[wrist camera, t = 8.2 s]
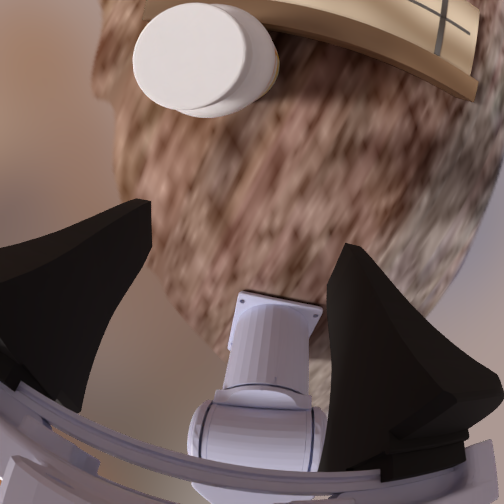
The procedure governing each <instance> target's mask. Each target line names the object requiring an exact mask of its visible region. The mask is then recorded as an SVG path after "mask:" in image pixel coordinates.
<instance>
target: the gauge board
mask: <svg viewBox="0 0 504 504" xmlns="http://www.w3.org/2000/svg"><path fill="white" fill-rule="evenodd" d="M186 3H206V4H224V5H230V6H234V7H237V8H240V9H242V10H244V11H246V12H248V13H249V14H251V15H252V16H254V17H255V18H256V19H257V20H258V21H259V22H260V23H261V24H262V25H263V26H264V27H265V29H266V30H269V31H275V32H281V33H286V34H291V35H296V36H301V37H305V38H309V39H314V40H317V41H321V42H325V43H329V44H332V45H336V46H339V47H342V48H346V49H349V50H352V51H355V52H358V53H361V54H364V55H366V56H369V57H372V58H375V59H377V60H380V61H382V62H385V63H387V64H390V65H392V66H394V67H397V68H399V69H401V70H404V71H406V72H408V73H410V74H412V75H414V76H417V77H419V78H421V79H423V80H425V81H427V82H429V83H431V84H432V85H434V86H436V87H438V88H440V89H442V90H444V91H445V92H447V93H449V94H451V95H452V96H454V97H456V98H459V99H463V100H467V101H471V102H474V100H475V96H476V91H477V87H478V83H479V82H478V81H477V80H475V79H474V78H472V77H471V76H470V74H471V69H472V64H473V59H474V53H475V47H476V40H477V33H478V24H479V13H480V10H478V9H477V8H476V7H474V6H473V5H471V4H470V3H468V2H467V1H466V0H146V3H145V8H144V13H143V18H142V20H144V21H148V22H150V21H151V20H152V19H153V18H155V17H156V16H157V15H159V14H160V13H162V12H164V11H165V10H167V9H169V8H172V7H174V6H177V5H180V4H186Z"/></svg>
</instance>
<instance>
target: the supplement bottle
mask: <svg viewBox="0 0 504 504" xmlns="http://www.w3.org/2000/svg"><path fill="white" fill-rule="evenodd" d="M279 68H280V61H279V56H278V53H277V50H276V48H275V46H274V44H273V42H272V39H271V37H270V35H269V33H268V32H267V30H266V29H265V27H264V26H263V25H262V24H261V23H260V22H259V21H258V20H257V19H256V18H255V17H254V16H252V15H251V14H249V13H248V12H246V11H244V10H242V9H240V8H237V7H234V6H230V5H224V4H206V3H186V4H180V5H177V6H174V7H172V8H169V9H167V10H165V11H164V12H162V13H160V14H159V15H157V16H156V17H155V18H153V19H152V20H151V21H150V22H149V23H148V24H147V26H146V27H145V28H144V30H143V31H142V32H141V34H140V36H139V38H138V40H137V43H136V45H135V49H134V53H133V70H134V74H135V78H136V80H137V83H138V85H139V86H140V88H141V89H142V91H143V92H144V93H145V94H146V95H147V96H148V97H149V98H150V99H151V100H153V101H154V102H156V103H157V104H159V105H161V106H164V107H166V108H170V109H175V110H177V111H179V112H181V113H184V114H186V115H190V116H194V117H200V118H215V117H221V116H225V115H229V114H232V113H235V112H237V111H239V110H241V109H243V108H245V107H246V106H248V105H249V104H251V103H252V102H254V101H256V100H257V99H259V98H260V97H262V96H263V95H265V94H266V93H267V92H268V91H269V90H270V89H271V87H272V86H273V85H274V83H275V81H276V79H277V76H278V73H279Z"/></svg>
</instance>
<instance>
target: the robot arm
mask: <svg viewBox="0 0 504 504" xmlns="http://www.w3.org/2000/svg"><path fill="white" fill-rule="evenodd" d="M151 248H152V228H151V201H148V200H142V199H133V200H130V201H127V202H125V203H122V204H120V205H117V206H115V207H113V208H111V209H109V210H106V211H104V212H102V213H99V214H97V215H95V216H93V217H91V218H88V219H86V220H83V221H81V222H79V223H76V224H74V225H72V226H70V227H67V228H65V229H62V230H59V231H57V232H54V233H51V234H48V235H45V236H42V237H39V238H36V239H32V240H29V241H26V242H22V243H19V244H15V245H11V246H7V247H3V248H0V479H1V480H2V482H1V486H0V504H179V503H175V502H171V501H168V500H164V499H161V498H158V497H154V496H151V495H148V494H145V493H142V492H139V491H136V490H134V489H131V488H128V487H125V486H123V485H120V484H118V483H116V482H113V481H111V480H108V479H106V478H104V477H102V476H99V475H98V474H97V471H98V468H99V465H100V461H99V460H98V459H97V458H95V457H93V456H91V455H89V454H88V453H86V452H84V451H83V450H81V449H80V448H78V447H77V446H76V445H74V444H73V443H72V442H70V441H68V440H66V439H65V438H63V437H62V436H60V435H58V434H57V433H55V432H53V431H52V427H51V426H50V425H52V426H54V427H55V428H57V429H59V430H61V431H62V432H64V433H66V434H68V435H70V436H71V437H73V438H75V439H77V440H79V441H81V442H83V443H85V444H87V445H89V446H91V447H93V448H96V449H98V450H100V451H102V452H104V453H107V454H109V455H111V456H114V457H116V458H119V459H121V460H124V461H126V462H129V463H131V464H134V465H137V466H140V467H142V468H145V469H149V470H151V471H155V472H158V473H161V474H164V475H168V476H171V477H175V478H178V479H183V480H186V481H191V482H192V486H193V488H194V489H195V490H196V491H197V492H198V493H199V494H201V495H202V496H203V497H204V498H205V499H207V500H208V501H209V502H210V503H212V504H490V503H492V502H494V501H495V500H497V499H498V497H499V495H498V481H497V471H496V463H495V456H494V451H493V444H492V440H491V439H489V440H486V441H483V442H480V443H477V444H474V445H471V446H469V447H466V448H465V447H464V441H466V440H467V439H468V438H469V432H468V429H469V428H470V427H472V426H473V425H475V424H476V423H478V422H479V421H481V420H482V419H483V418H485V417H486V416H488V415H489V414H490V413H492V412H493V411H494V410H495V409H496V408H497V407H498V406H499V405H500V404H501V402H502V401H503V399H504V391H503V388H502V385H501V382H500V379H499V377H498V375H497V374H496V373H494V372H493V371H491V370H490V369H488V368H486V367H485V366H483V365H482V364H480V363H478V362H477V361H475V360H474V359H473V358H471V357H470V356H469V355H467V354H466V353H465V352H463V351H462V350H460V349H459V348H458V347H457V346H455V345H454V344H453V343H452V342H450V341H449V340H448V339H447V338H446V337H445V336H444V335H442V334H441V333H440V332H439V331H438V330H437V329H436V328H434V327H433V326H432V325H431V324H430V323H429V322H428V321H427V320H426V319H425V318H424V317H423V316H422V315H421V314H420V313H419V312H418V311H417V310H416V309H415V308H414V307H413V306H412V305H411V304H410V303H409V301H408V300H407V299H406V298H405V297H404V296H403V295H402V294H401V292H400V291H399V290H398V289H397V288H396V287H395V285H394V284H393V283H392V282H391V281H390V280H389V278H388V277H387V276H386V275H385V274H384V272H383V271H382V270H381V269H380V268H379V266H378V265H377V264H376V263H375V262H374V260H373V259H372V258H371V257H370V256H369V255H368V254H367V253H366V251H365V250H364V249H363V248H361V247H360V246H356V245H352V244H348V243H345V245H344V247H343V250H342V252H341V254H340V257H339V259H338V261H337V263H336V266H335V268H334V270H333V273H332V275H331V277H330V279H329V281H328V284H327V318H328V328H329V338H330V348H331V362H332V375H331V393H330V404H329V414H328V421H327V417H326V414H325V413H324V412H323V411H322V410H321V408H320V407H312V409H311V402H312V396H311V395H308V389H309V337H310V336H311V334H312V332H313V330H314V328H315V326H316V324H317V322H318V321H319V319H320V317H321V315H322V312H323V309H322V308H321V307H320V306H315V305H309V304H304V303H299V302H294V301H289V300H284V299H279V298H274V297H269V296H265V295H260V294H255V293H250V292H246V291H241V292H239V294H238V299H237V304H236V309H235V313H234V318H233V323H232V328H231V333H230V338H229V343H228V350H230V351H231V352H230V356H229V361H228V365H227V370H226V375H225V379H224V384H223V389H222V390H218V389H217V390H216V392H215V396H214V400H206V401H204V402H203V403H202V404H201V405H200V406H199V407H198V408H197V409H196V411H195V413H194V415H193V417H192V420H191V423H190V427H189V432H188V442H187V449H188V455H186V454H183V453H179V452H175V451H172V450H168V449H165V448H162V447H158V446H155V445H152V444H149V443H146V442H143V441H140V440H138V439H135V438H132V437H129V436H127V435H124V434H122V433H119V432H117V431H114V430H112V429H109V428H107V427H105V426H102V425H100V424H98V423H95V422H94V421H91V420H89V419H87V418H85V417H83V416H81V415H79V414H77V413H79V412H81V408H82V403H83V398H84V394H85V390H86V385H87V381H88V378H89V375H90V371H91V368H92V365H93V362H94V358H95V356H96V353H97V350H98V347H99V345H100V342H101V339H102V337H103V335H104V332H105V330H106V328H107V326H108V323H109V321H110V319H111V317H112V315H113V313H114V311H115V310H116V308H117V306H118V305H119V303H120V301H121V300H122V298H123V297H124V295H125V293H126V292H127V290H128V289H129V287H130V286H131V284H132V282H133V281H134V279H135V278H136V276H137V275H138V273H139V272H140V270H141V268H142V267H143V265H144V263H145V261H146V259H147V256H148V254H149V252H150V250H151ZM241 299H243V300H241ZM314 314H317V315H314ZM323 495H324V496H325V495H332V496H331V497H329V498H328V499H324V500H312V499H313V498H314V497H315V496H323Z"/></svg>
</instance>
